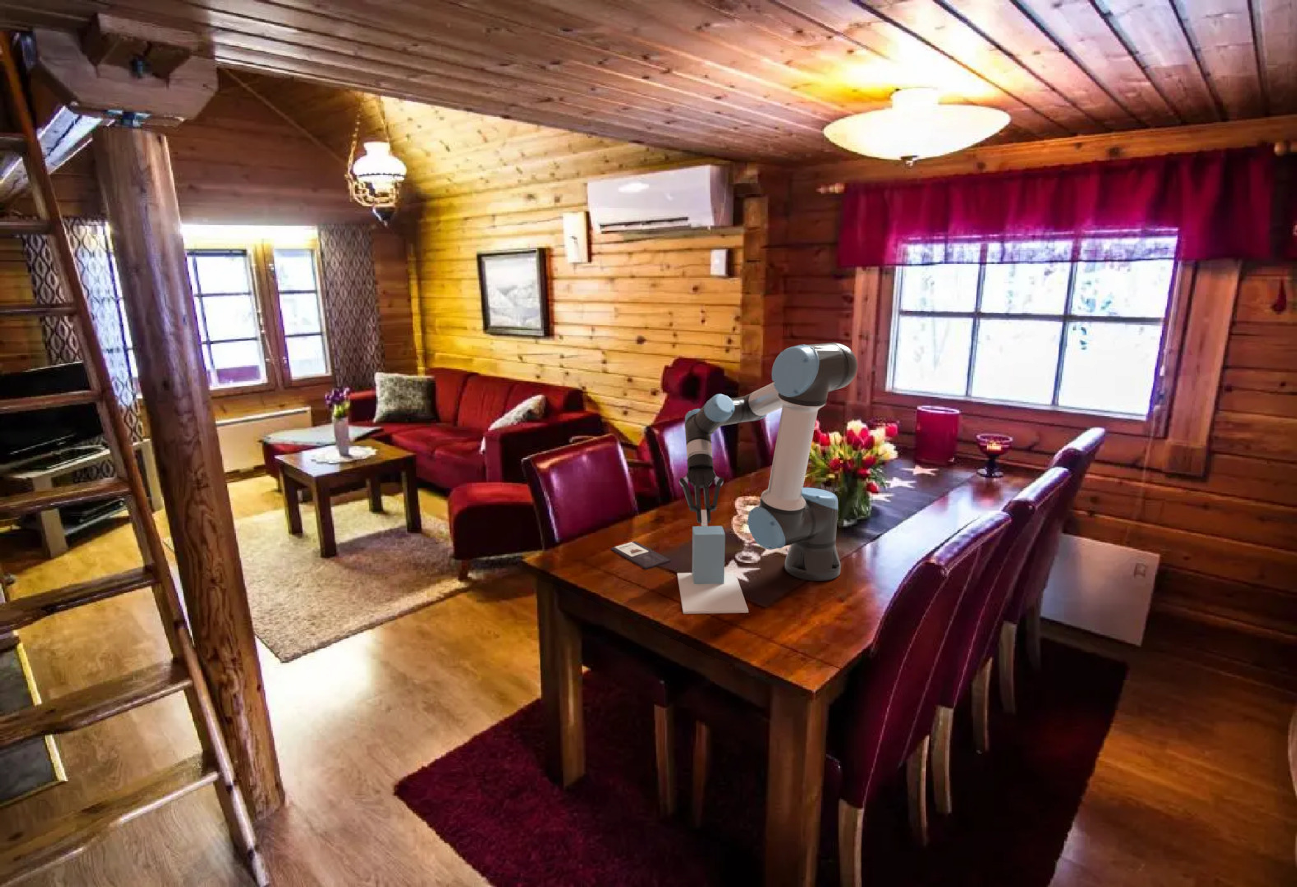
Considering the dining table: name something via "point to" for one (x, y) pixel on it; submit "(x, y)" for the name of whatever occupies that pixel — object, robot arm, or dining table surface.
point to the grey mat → (711, 595)
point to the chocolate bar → (640, 555)
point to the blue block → (708, 554)
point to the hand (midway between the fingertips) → (704, 533)
